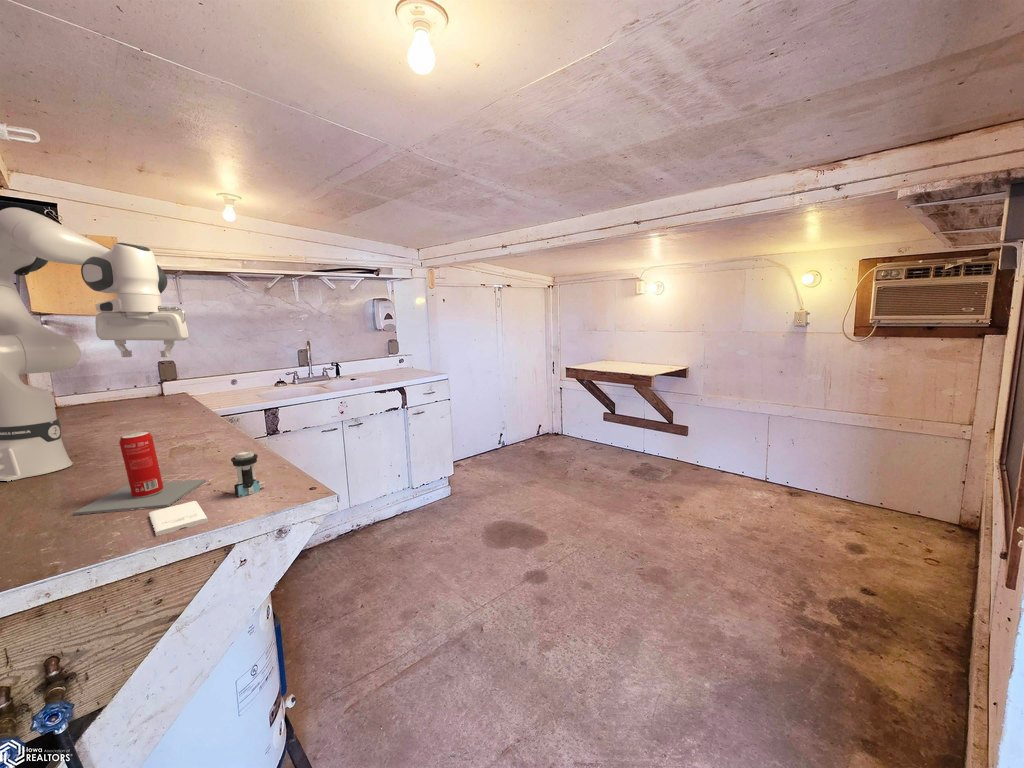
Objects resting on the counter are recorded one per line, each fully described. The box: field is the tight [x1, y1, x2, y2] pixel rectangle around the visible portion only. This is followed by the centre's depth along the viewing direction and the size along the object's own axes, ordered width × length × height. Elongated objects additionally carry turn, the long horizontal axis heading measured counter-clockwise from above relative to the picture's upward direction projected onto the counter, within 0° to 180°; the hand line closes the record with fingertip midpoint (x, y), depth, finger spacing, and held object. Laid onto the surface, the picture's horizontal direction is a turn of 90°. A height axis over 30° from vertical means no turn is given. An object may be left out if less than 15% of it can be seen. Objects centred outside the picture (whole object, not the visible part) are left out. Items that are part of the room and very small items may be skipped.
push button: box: [230, 450, 266, 498], centre depth 99 cm, size 7×5×10 cm
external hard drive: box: [148, 500, 209, 537], centre depth 86 cm, size 2×8×12 cm
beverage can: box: [119, 430, 164, 498], centre depth 97 cm, size 6×6×15 cm
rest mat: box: [72, 479, 207, 516], centre depth 98 cm, size 18×16×1 cm
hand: (146, 357), depth 113 cm, fingers open, 8 cm apart
